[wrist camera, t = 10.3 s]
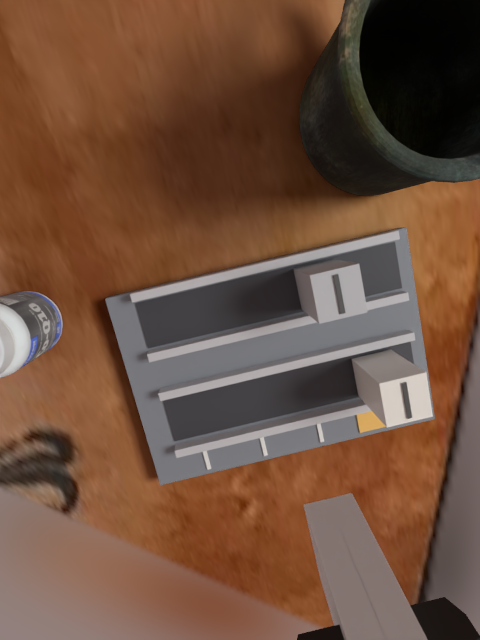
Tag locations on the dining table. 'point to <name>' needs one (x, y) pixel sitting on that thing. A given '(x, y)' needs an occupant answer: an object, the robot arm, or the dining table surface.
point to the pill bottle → (26, 329)
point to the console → (266, 352)
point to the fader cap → (392, 388)
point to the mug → (396, 96)
